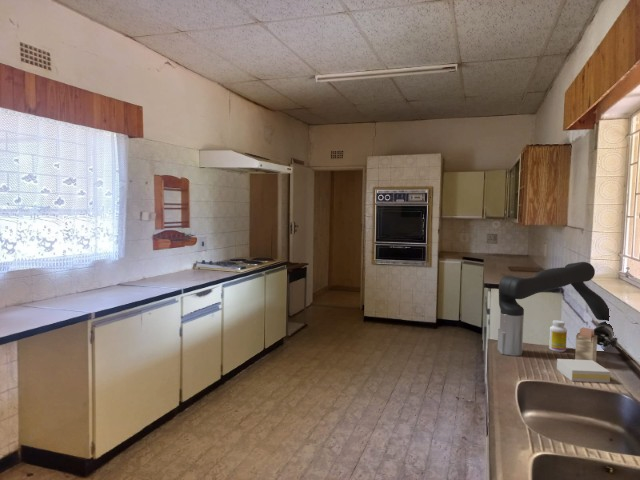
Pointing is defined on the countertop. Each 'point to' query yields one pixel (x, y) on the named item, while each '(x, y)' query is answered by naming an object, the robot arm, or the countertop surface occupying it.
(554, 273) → the robot arm
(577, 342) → the box
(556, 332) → the supplement bottle
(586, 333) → the block
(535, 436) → the countertop surface
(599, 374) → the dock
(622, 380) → the countertop surface
